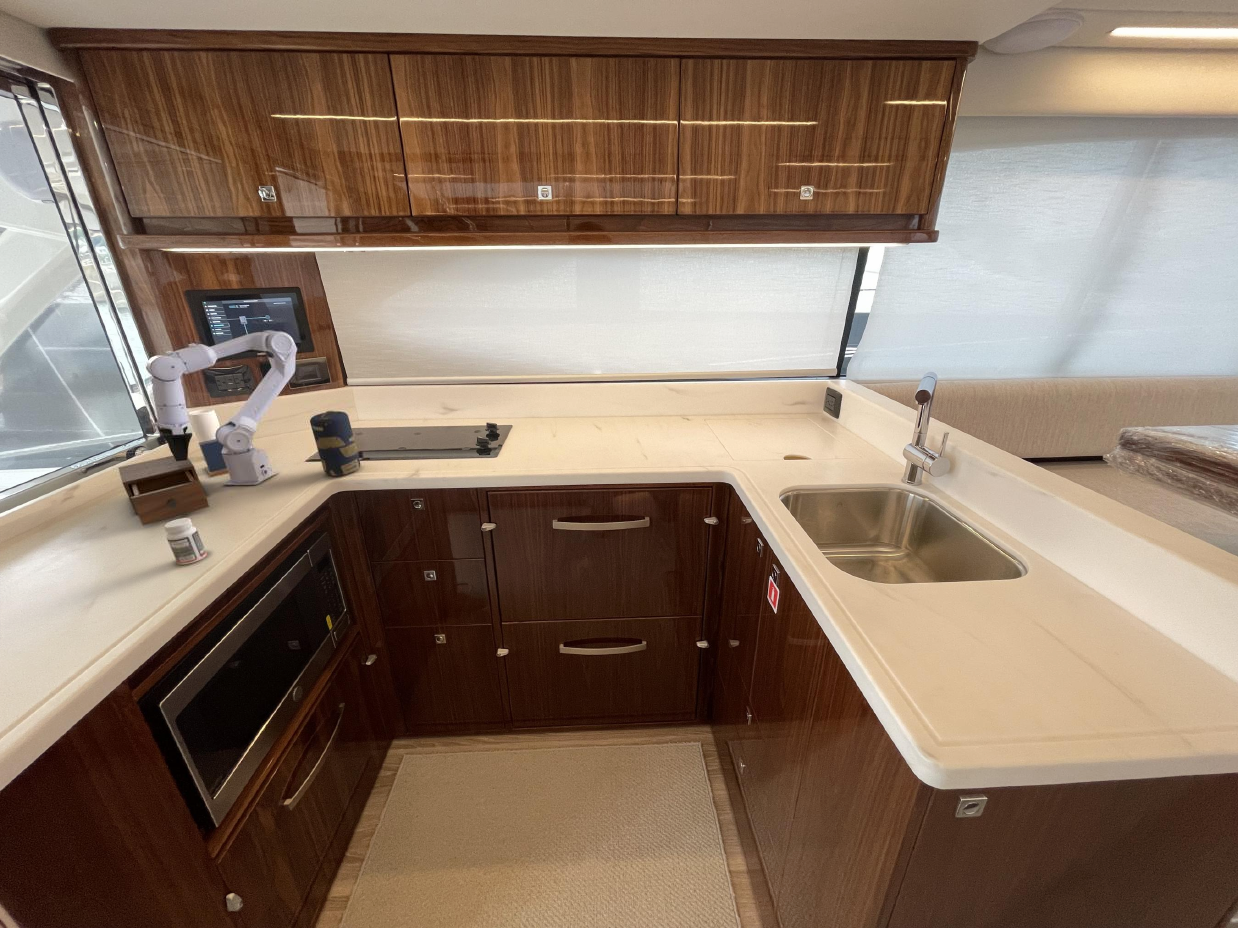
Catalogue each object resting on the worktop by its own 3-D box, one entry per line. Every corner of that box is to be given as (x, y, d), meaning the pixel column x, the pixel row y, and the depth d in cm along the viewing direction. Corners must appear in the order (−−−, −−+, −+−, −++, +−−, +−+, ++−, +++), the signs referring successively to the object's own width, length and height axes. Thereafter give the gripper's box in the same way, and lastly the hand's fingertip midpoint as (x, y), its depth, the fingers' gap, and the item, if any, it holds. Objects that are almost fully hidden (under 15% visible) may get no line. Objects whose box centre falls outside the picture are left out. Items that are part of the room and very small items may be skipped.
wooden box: (205, 496, 131) (193, 465, 128) (136, 514, 122) (122, 482, 119) (195, 481, 141) (184, 452, 138) (131, 497, 132) (118, 467, 129)
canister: (369, 467, 146) (354, 407, 140) (342, 479, 138) (326, 416, 131) (344, 464, 149) (328, 405, 143) (316, 476, 141) (299, 414, 134)
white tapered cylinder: (216, 460, 157) (199, 414, 152) (198, 460, 158) (181, 414, 153) (235, 453, 163) (219, 408, 158) (218, 452, 165) (202, 408, 159)
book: (246, 463, 152) (237, 437, 149) (210, 472, 147) (200, 444, 143) (244, 461, 155) (235, 434, 151) (208, 469, 149) (198, 442, 146)
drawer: (210, 507, 122) (200, 482, 119) (143, 526, 114) (131, 499, 111) (199, 491, 132) (190, 467, 130) (137, 507, 124) (126, 482, 122)
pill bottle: (196, 551, 104) (182, 515, 101) (212, 554, 103) (198, 518, 100) (171, 563, 100) (155, 526, 97) (187, 566, 99) (172, 529, 95)
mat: (251, 466, 151) (251, 465, 151) (211, 476, 144) (210, 475, 144) (244, 459, 157) (244, 458, 157) (205, 468, 151) (204, 467, 151)
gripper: (146, 401, 127) (156, 453, 130) (151, 410, 117) (161, 465, 121) (182, 400, 132) (191, 450, 135) (190, 408, 122) (199, 461, 126)
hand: (179, 457), depth 128 cm, fingers open, 7 cm apart
